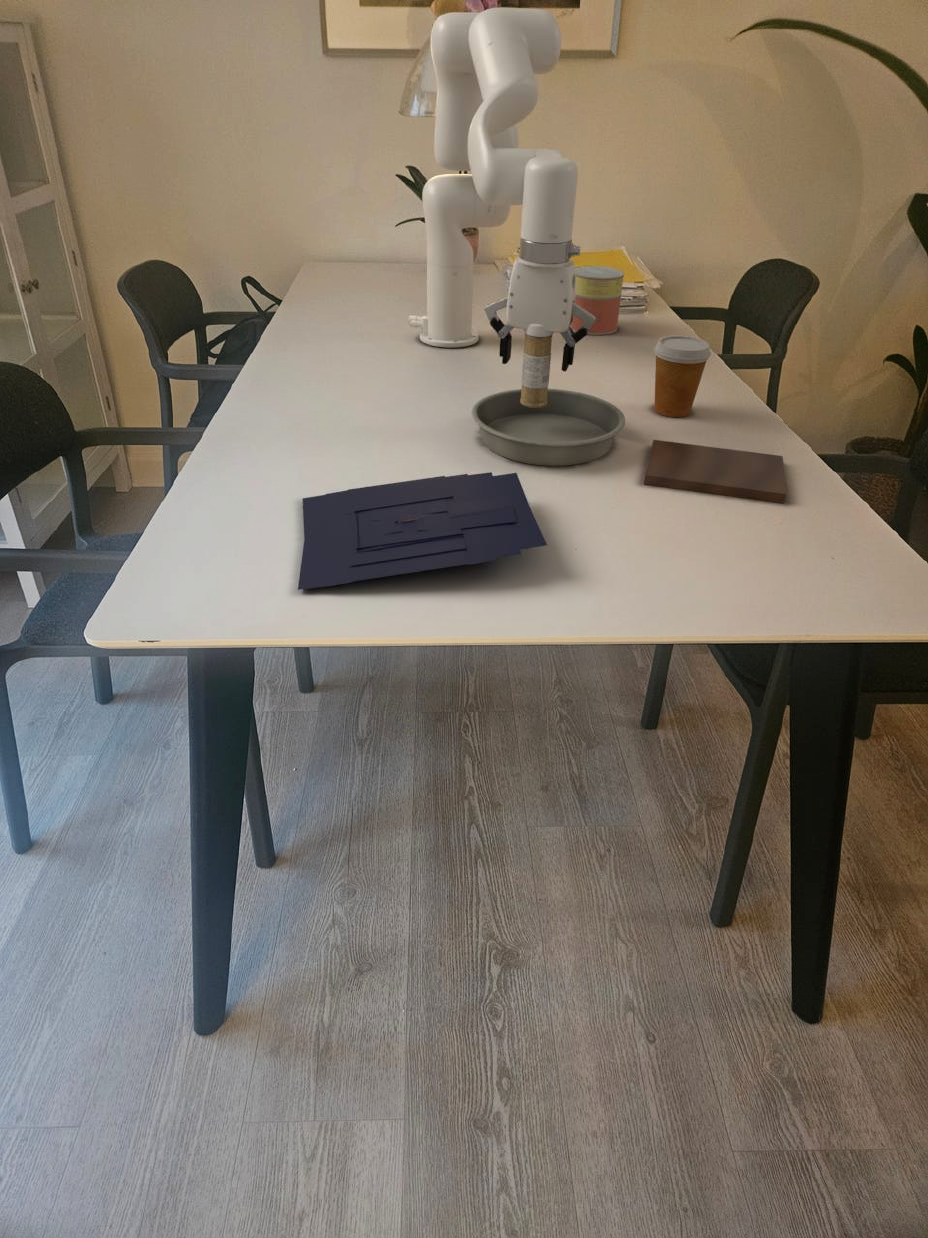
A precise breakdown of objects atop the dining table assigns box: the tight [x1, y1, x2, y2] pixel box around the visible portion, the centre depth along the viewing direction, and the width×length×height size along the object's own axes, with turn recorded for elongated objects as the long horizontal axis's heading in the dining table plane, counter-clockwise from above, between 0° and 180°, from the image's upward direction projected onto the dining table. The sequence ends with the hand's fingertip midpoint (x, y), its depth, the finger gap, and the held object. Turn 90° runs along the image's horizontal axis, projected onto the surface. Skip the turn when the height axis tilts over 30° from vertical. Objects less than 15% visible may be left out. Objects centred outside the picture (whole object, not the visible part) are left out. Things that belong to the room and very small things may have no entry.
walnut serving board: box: [643, 439, 787, 504], centre depth 130 cm, size 20×14×2 cm
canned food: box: [570, 265, 625, 336], centre depth 190 cm, size 11×11×12 cm
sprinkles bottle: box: [520, 324, 554, 408], centre depth 137 cm, size 5×5×14 cm
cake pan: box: [471, 388, 626, 467], centre depth 139 cm, size 25×25×4 cm
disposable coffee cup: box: [653, 335, 712, 418], centre depth 149 cm, size 10×10×12 cm
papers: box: [297, 471, 548, 591], centre depth 111 cm, size 24×30×4 cm
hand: (535, 364), depth 137 cm, fingers open, 9 cm apart
